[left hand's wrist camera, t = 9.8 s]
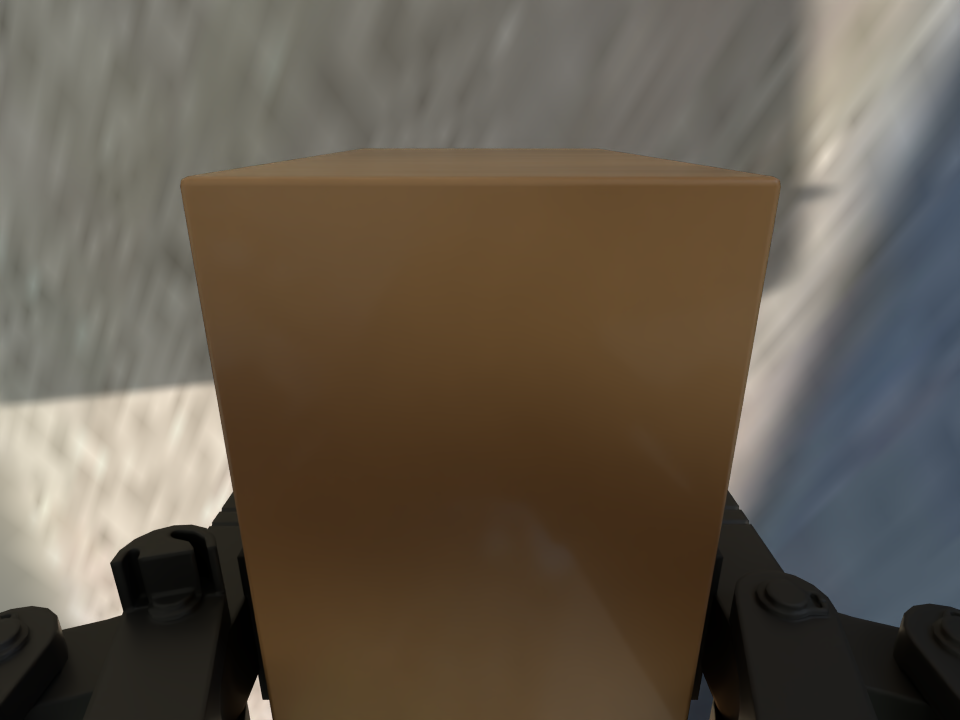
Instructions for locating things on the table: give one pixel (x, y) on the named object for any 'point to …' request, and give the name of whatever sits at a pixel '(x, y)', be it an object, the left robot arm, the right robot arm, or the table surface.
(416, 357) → the beam
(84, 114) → the table surface
